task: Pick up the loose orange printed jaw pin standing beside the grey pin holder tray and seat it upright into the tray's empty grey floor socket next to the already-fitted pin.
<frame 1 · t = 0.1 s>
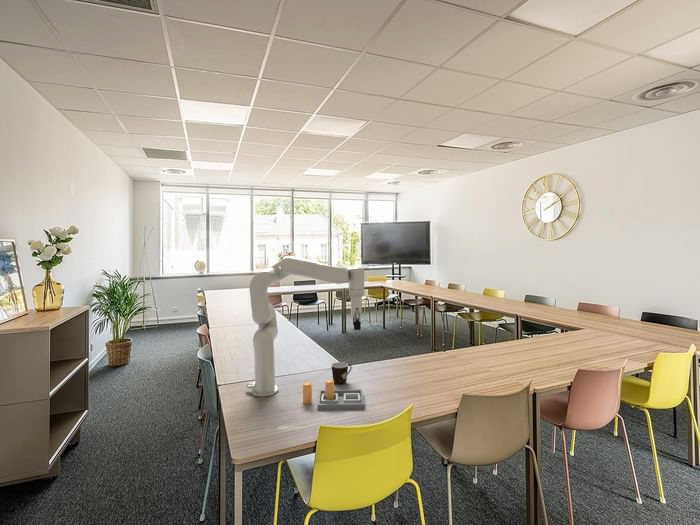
hand: (356, 327, 166), 31 cm above the table, fingers open, 9 cm apart
coffee mug: (342, 384, 175), on the table
grey pin holder tray: (340, 403, 153), on the table
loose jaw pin: (307, 403, 152), on the table
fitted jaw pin: (329, 401, 153), point 1 cm above the table, touching grey pin holder tray
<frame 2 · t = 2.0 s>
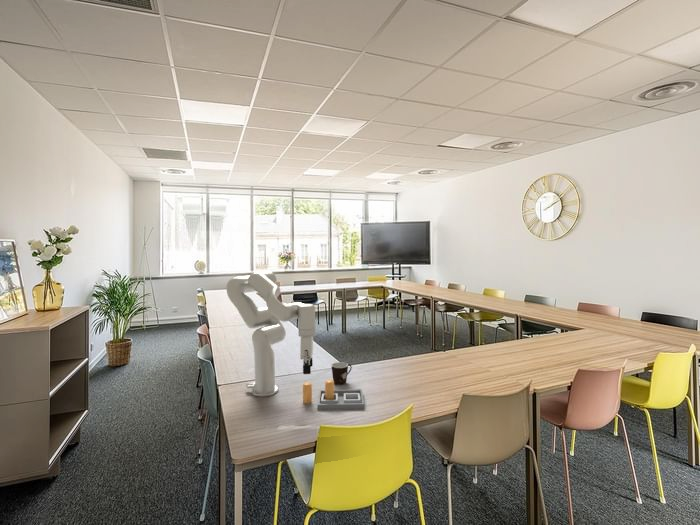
hand: (308, 370, 151), 16 cm above the table, fingers open, 9 cm apart
nothing on the table moved.
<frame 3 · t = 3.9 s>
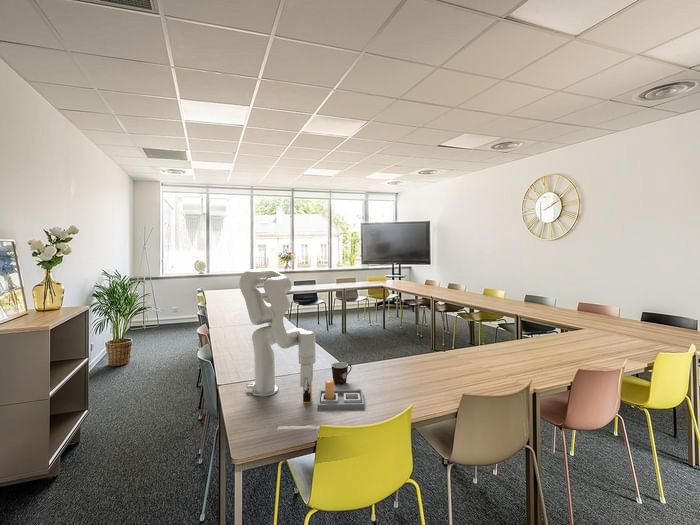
hand: (307, 398, 152), 2 cm above the table, fingers closed on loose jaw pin, 4 cm apart
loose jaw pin: (307, 403, 152), on the table, touching gripper
everything else where it was.
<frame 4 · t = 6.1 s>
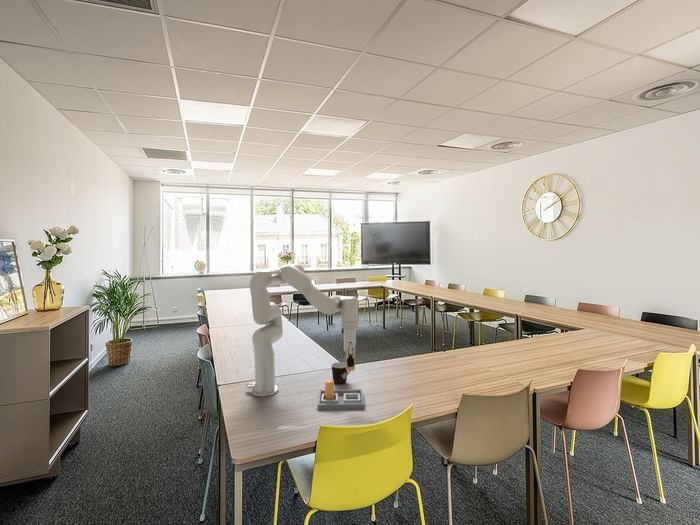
hand: (350, 364, 152), 18 cm above the table, fingers closed on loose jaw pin, 4 cm apart
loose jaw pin: (350, 369, 152), point 16 cm above the table, touching gripper
everything else where it was.
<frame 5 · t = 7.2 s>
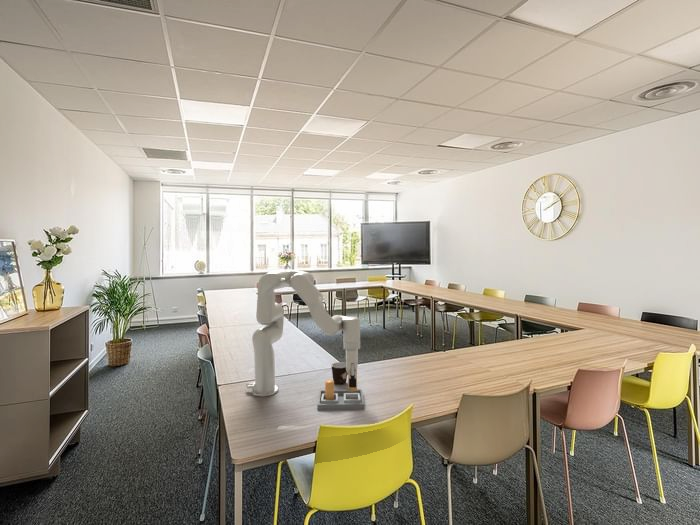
hand: (352, 384, 152), 9 cm above the table, fingers closed on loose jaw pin, 4 cm apart
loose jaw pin: (352, 389, 152), point 6 cm above the table, touching gripper
everything else where it was.
when the fingers open (4 cm above the table, at t = 8.3 s): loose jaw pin stays where it is, resting on grey pin holder tray.
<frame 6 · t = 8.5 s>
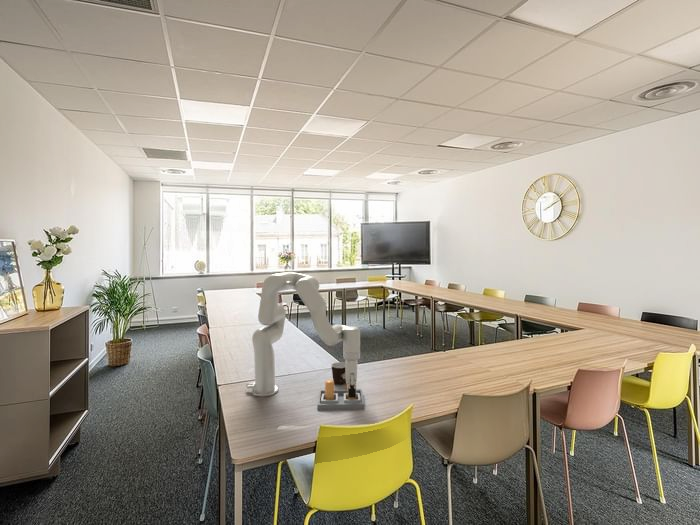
hand: (351, 393, 153), 4 cm above the table, fingers open, 5 cm apart
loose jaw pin: (351, 400, 153), point 1 cm above the table, touching grey pin holder tray
everything else where it was.
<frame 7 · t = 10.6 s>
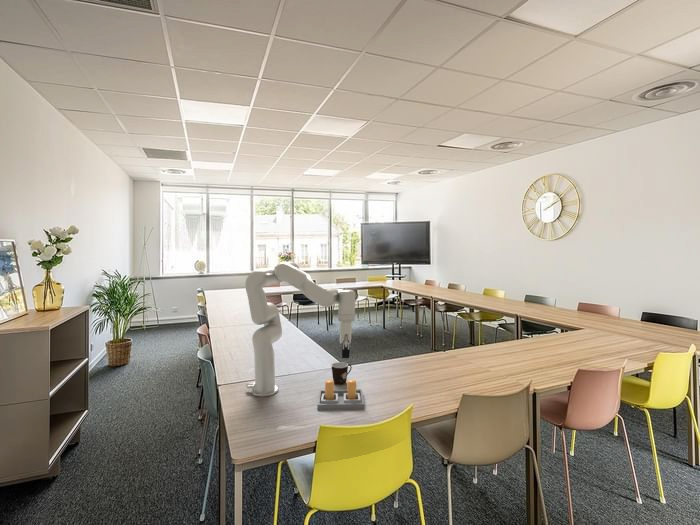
hand: (345, 354, 154), 22 cm above the table, fingers open, 9 cm apart
nothing on the table moved.
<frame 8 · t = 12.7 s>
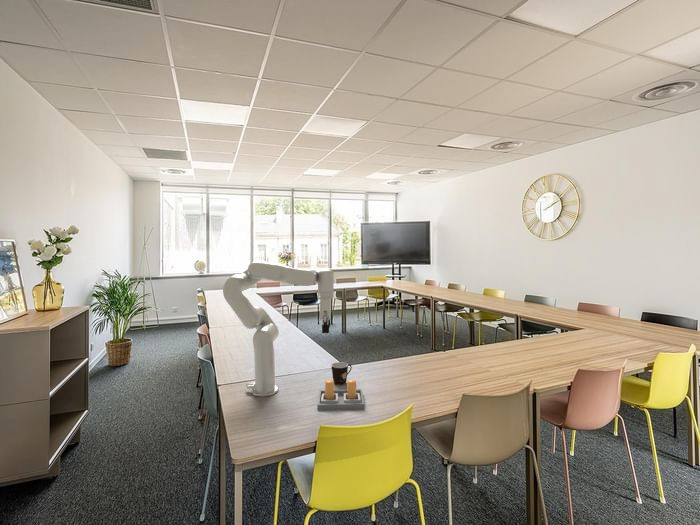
hand: (325, 330, 163), 30 cm above the table, fingers open, 9 cm apart
nothing on the table moved.
at the end: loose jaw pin 0.1 cm from the target spot on the grey pin holder tray, point 1.0 cm above the grey pin holder tray's base; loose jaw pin tilted 0°; the gripper is holding nothing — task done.
